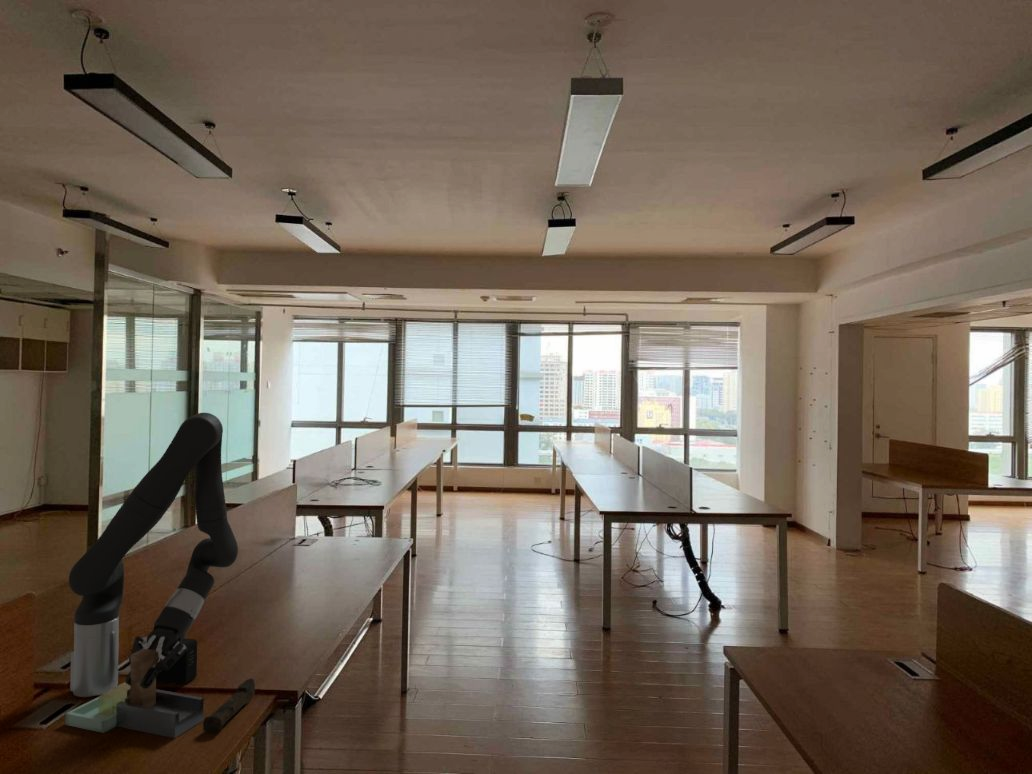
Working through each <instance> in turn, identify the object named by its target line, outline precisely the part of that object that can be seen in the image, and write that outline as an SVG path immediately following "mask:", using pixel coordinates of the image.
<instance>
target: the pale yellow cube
mask: <svg viewBox="0 0 1032 774" xmlns="http://www.w3.org/2000/svg"><path fill="white" fill-rule="evenodd" d="M129 696H130V686H129V685H128V684H126V683H125V681H124V682H122V683H120V684H118V685H117V686H116V687H114V688H113V706H116V707H117V703H118V702H120V701H122V702H125V698H127V697H129Z"/></svg>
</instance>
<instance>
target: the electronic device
mask: <svg viewBox="0 0 1032 774" xmlns="http://www.w3.org/2000/svg"><path fill="white" fill-rule="evenodd" d="M181 643H182V644H184V645H185V646H186V647H187V651H186V652H185V653H184V654H183V655H182V656H181V657H180V658H179V659H178V661H177V662H176V663H175V664H174V665H173V666H172V667H171V668H170V669H169V670H168V671H166V670H162V671H161V672H159V673H158V674H157V676H156V683H159V682H163V683H162V684H168V683H175V684H174V685H178V684H185V685H186V684H188V683H189V682H191V681H192V680H194V679H195V678H197V675H198V674H197V672H198V671H197V670H198V666H197V665H198V641H197V640H196V638H195V639H194V638H186V637H183V638H181ZM170 660H171V659H170ZM170 660H169V661H170ZM169 661H168V662H169ZM168 662H167V664H168ZM193 678H194V679H193Z"/></svg>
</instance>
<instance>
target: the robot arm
mask: <svg viewBox="0 0 1032 774" xmlns="http://www.w3.org/2000/svg"><path fill="white" fill-rule="evenodd" d="M223 431H224V430H223V424H222V422H221V420H220V419H219V417H217V416H216V415H214V414H212V413H209V412H199V413H196V414H194V415H192V416H190V417H188V418H187V419H185V420H184V421H183V422H182V423H181V424H180V425H179V428H178V430H177V431H176V432H175V435H174V437H173V439H172V440H171V442H170V444H169V445H168V446H167V448H166V449H165V452H164V453H162V456H161V457H160V458H159V460H158V461H157V462H156V463H155V464H154V465H153V466H152V467H151V468H150V469H149V470H148V471H147V473H146V474H145V475H144V476H143V477H142V478H141V479H140V481H139V482H138V483H137V484H136V486H135V487H134V488H133V489H132V491H131V492H130V493H129V495H128V496H127V498H126V499H125V501H124V502H123V503H122V505H121V506H120V508H119V509H118V510H117V512H116V513H115V515H114V516H113V517H112V518H111V520H110V521H109V523H108V524H107V526H106V528H105V529H104V530H103V532H102V533H101V534H100V536H99V537H98V539H97V540H96V541H95V542H94V543H93V544H92V545H91V546H90V548H88V550H87V551H86V552H85V553H84V554H83V555H82V556H81V557H80V558H79V559H78V561H76V563H75V564H74V565H73V566H72V567H71V570H70V571H69V575H68V584H69V587H70V590H71V591H72V592H73V593H74V594H75V595H78V596H81V597H82V599H81V600H80V603H79V605H78V606H77V608H76V609H75V611H74V628H73V629H74V630H73V631H74V632H73V635H74V636H73V637H74V639H73V651H71V653H70V687H69V689H70V692H72V693H73V696H75V697H80V698H89V697H95V696H100V695H102V694H104V693H106V692H108V691H110V690H112V689H113V688H114V687H116V686H118V685H119V637H120V636H119V632H120V630H119V629H120V626H119V625H120V623H119V622H120V621H119V620H120V608H121V606H122V602H123V598H124V584H125V582H124V581H125V567H124V562H123V559H124V558H125V556H126V555H127V553H128V552H129V551H130V550H131V549H132V548H133V547H134V546H135V545H137V543H138V542H140V540H142V539H143V538H144V537H145V536H146V535H147V534H148V533H149V532H150V531H151V530H152V529H153V528H154V527H155V526H156V525H157V524H158V523H159V522H160V521H161V519H162V518H163V517H164V515H165V514H166V513H167V511H168V510H169V508H171V505H172V504H173V503H174V502H175V499H176V498H177V496H178V494H179V492H180V491H181V489H182V486H183V485H184V483H185V480H186V479H187V477H188V475H189V474H190V472H191V471H192V470H193V469H195V470H194V472H195V473H194V474H195V479H194V482H195V483H194V508H195V509H194V510H195V516H196V524H197V528H198V530H199V531H200V532H202V533H204V534H206V535H208V536H209V537H208V538H204V539H202V540H201V541H199V543H197V544H196V545H195V547H194V549H193V551H192V553H191V556H190V560H189V563H188V566H187V569H186V573H185V575H184V576H183V578H182V580H181V582H180V583H179V585H178V587H177V589H176V590H175V591H174V592H173V594H171V596H170V597H169V599H168V601H167V602H166V604H165V605H164V607H163V608H162V610H161V611H160V613H159V615H158V617H156V619H155V621H154V624H153V629H152V631H151V632H150V633H148V635H147V636H144V637H141V636H139V635H138V636H136V637H135V639H134V641H133V644H132V649H131V651H130V654H129V658H128V661H129V662H130V663H131V654H133V653H136V652H138V651H140V650H142V649H150V650H156V654H155V659H154V661H153V663H152V665H151V668H149V670H148V671H147V673H146V675H145V676H144V678H143V679H142V681H141V683H140V686H141V687H143V688H145V689H147V688H148V687H149V686H150V685H151V684H152V683H153V681H154V679H155V678H156V676H157V674H158V673H159V672H161V671H162V670H166V671H168V670H169V669H170V668H171V667H172V666H173V665H174V664H175V663H176V662H177V661H178V659H179V658H180V657H181V656H182V655H183V654H184V653H185V652H186V651H187V647H186V646H185V645H184V644H182V643H181V638H186V635H187V633H188V632H189V630H190V629H191V627H192V625H193V624H194V621H195V619H197V616H198V615H199V613H200V611H201V610H202V608H203V607H202V606H203V605H204V602H205V600H206V599H207V597H208V595H209V593H210V592H211V590H212V588H213V586H214V584H215V578H214V576H213V575H212V574H211V573H210V572H208V571H209V569H210V568H211V567H214V568H228V567H230V566H232V565H233V564H234V563H235V561H236V560H237V558H238V553H239V547H238V542H237V539H236V537H235V534H234V532H233V529H232V528H231V524H230V523H229V520H228V513H227V503H226V496H225V488H224V482H223V481H224V480H223V472H222V471H223V468H222V445H223V444H222V443H223V442H222V441H223V434H224V433H223ZM170 659H171V660H170ZM169 660H170V661H169ZM168 661H169V662H168ZM167 662H168V664H167ZM124 682H125V683H126V684H128V685H129V686H130V685H131V670H130V671H129V672H128V674H127V676H126V677H125V681H124Z"/></svg>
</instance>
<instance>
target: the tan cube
mask: <svg viewBox="0 0 1032 774" xmlns="http://www.w3.org/2000/svg"><path fill="white" fill-rule="evenodd" d="M98 697H99V714H102V715H107V716H111V715H113V714H115V713H117V707H116V706H113V689H112V690H110V691H108V692H106V693H104V694H101V695H98Z"/></svg>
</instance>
